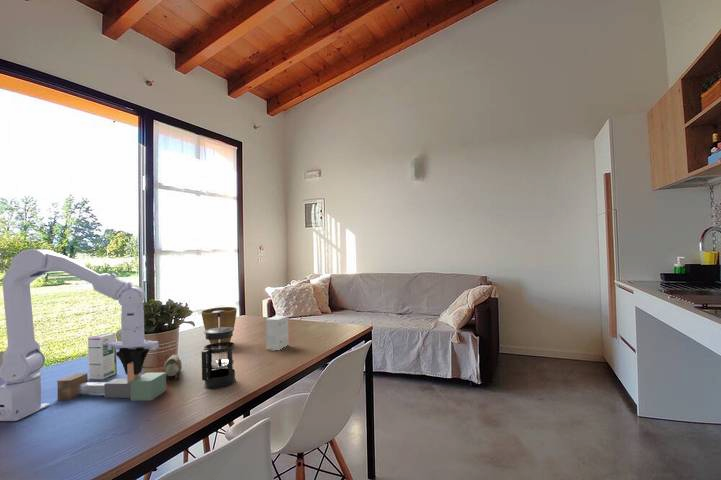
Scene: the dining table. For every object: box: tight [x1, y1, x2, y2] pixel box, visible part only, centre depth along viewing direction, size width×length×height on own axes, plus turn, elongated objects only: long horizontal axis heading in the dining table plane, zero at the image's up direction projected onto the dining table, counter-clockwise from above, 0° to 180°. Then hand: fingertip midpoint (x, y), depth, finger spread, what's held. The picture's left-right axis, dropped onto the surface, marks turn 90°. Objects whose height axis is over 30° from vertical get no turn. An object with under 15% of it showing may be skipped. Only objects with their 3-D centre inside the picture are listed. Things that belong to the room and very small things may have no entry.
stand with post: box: [104, 362, 141, 399], centre depth 106 cm, size 13×4×9 cm, turn 86°
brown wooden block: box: [56, 372, 89, 401], centre depth 108 cm, size 4×6×6 cm, turn 176°
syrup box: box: [87, 332, 118, 380], centre depth 124 cm, size 6×6×14 cm
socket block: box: [130, 372, 167, 401], centre depth 106 cm, size 6×7×6 cm
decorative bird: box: [163, 354, 183, 384], centre depth 123 cm, size 5×16×8 cm, turn 24°
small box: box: [264, 315, 290, 351], centre depth 154 cm, size 8×6×13 cm
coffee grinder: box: [201, 310, 237, 390], centre depth 114 cm, size 12×9×23 cm
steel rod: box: [76, 381, 108, 395], centre depth 107 cm, size 13×2×2 cm, turn 86°
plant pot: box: [200, 306, 238, 348], centre depth 161 cm, size 15×15×16 cm
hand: (133, 373), depth 106 cm, fingers closed on stand with post, 2 cm apart
